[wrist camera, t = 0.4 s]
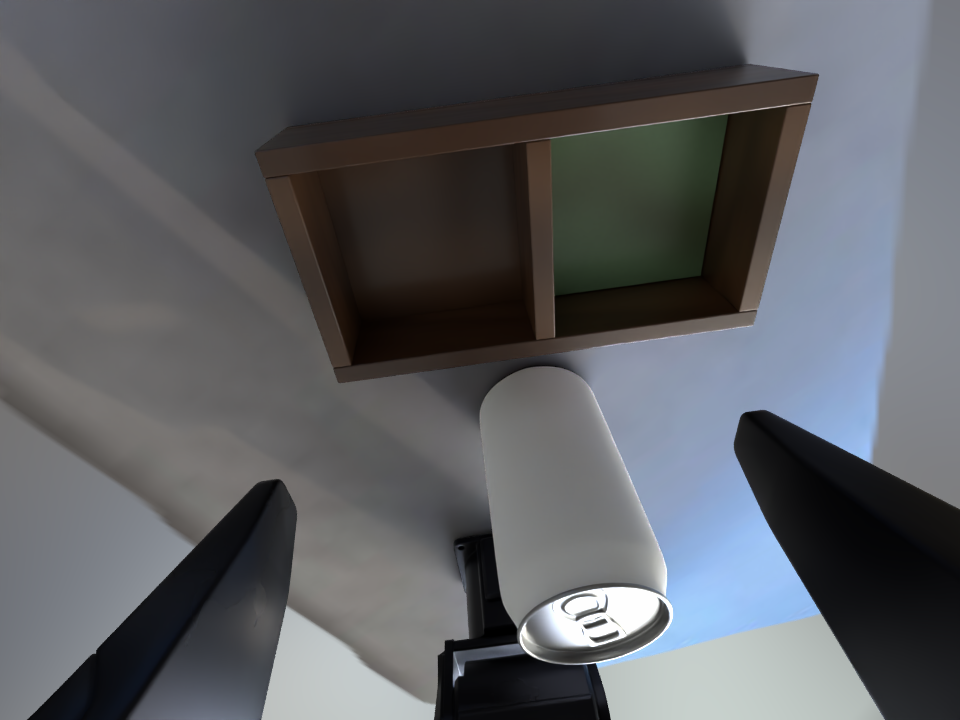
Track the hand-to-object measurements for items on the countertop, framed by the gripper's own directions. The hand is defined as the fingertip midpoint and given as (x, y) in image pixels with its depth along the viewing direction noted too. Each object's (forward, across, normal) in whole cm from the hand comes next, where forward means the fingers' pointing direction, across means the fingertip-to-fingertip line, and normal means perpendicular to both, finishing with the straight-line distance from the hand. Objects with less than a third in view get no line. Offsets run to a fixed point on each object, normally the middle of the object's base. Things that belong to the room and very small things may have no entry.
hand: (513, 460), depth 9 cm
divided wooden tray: (+14, -2, 0) cm, 14 cm away
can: (+14, -2, +11) cm, 18 cm away
